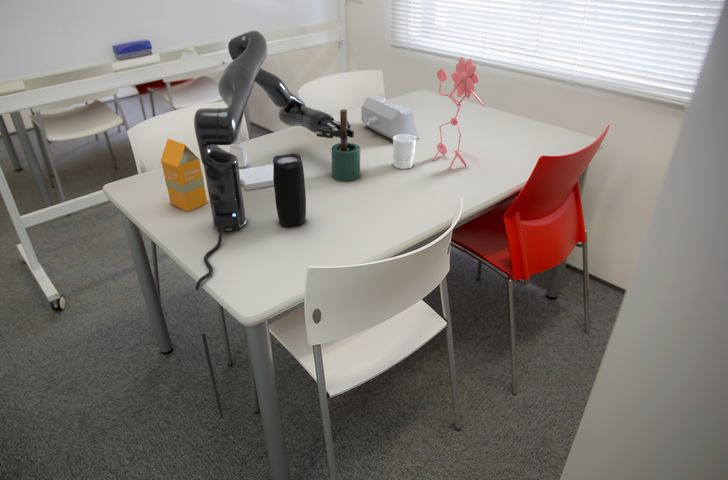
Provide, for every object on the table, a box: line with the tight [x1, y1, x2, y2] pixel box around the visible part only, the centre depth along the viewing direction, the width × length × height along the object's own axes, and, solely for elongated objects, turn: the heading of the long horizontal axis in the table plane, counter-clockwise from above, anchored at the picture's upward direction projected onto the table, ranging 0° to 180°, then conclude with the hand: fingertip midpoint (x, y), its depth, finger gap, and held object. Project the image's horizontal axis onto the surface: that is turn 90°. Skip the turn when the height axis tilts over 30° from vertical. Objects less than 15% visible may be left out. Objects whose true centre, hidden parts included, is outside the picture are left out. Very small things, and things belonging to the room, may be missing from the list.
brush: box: [339, 108, 349, 151], centre depth 166 cm, size 4×4×18 cm
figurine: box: [433, 56, 486, 176], centre depth 173 cm, size 15×26×35 cm, turn 26°
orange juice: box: [160, 138, 208, 212], centre depth 153 cm, size 8×9×20 cm
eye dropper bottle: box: [229, 135, 248, 169], centre depth 180 cm, size 4×6×12 cm
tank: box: [360, 94, 419, 141], centre depth 204 cm, size 25×16×12 cm, turn 29°
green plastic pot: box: [331, 142, 361, 182], centre depth 171 cm, size 9×9×10 cm
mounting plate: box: [239, 163, 274, 191], centre depth 172 cm, size 18×13×2 cm
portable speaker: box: [272, 152, 307, 228], centre depth 142 cm, size 9×9×20 cm
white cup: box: [392, 134, 417, 170], centre depth 177 cm, size 8×8×10 cm
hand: (349, 135), depth 164 cm, fingers closed on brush, 2 cm apart
